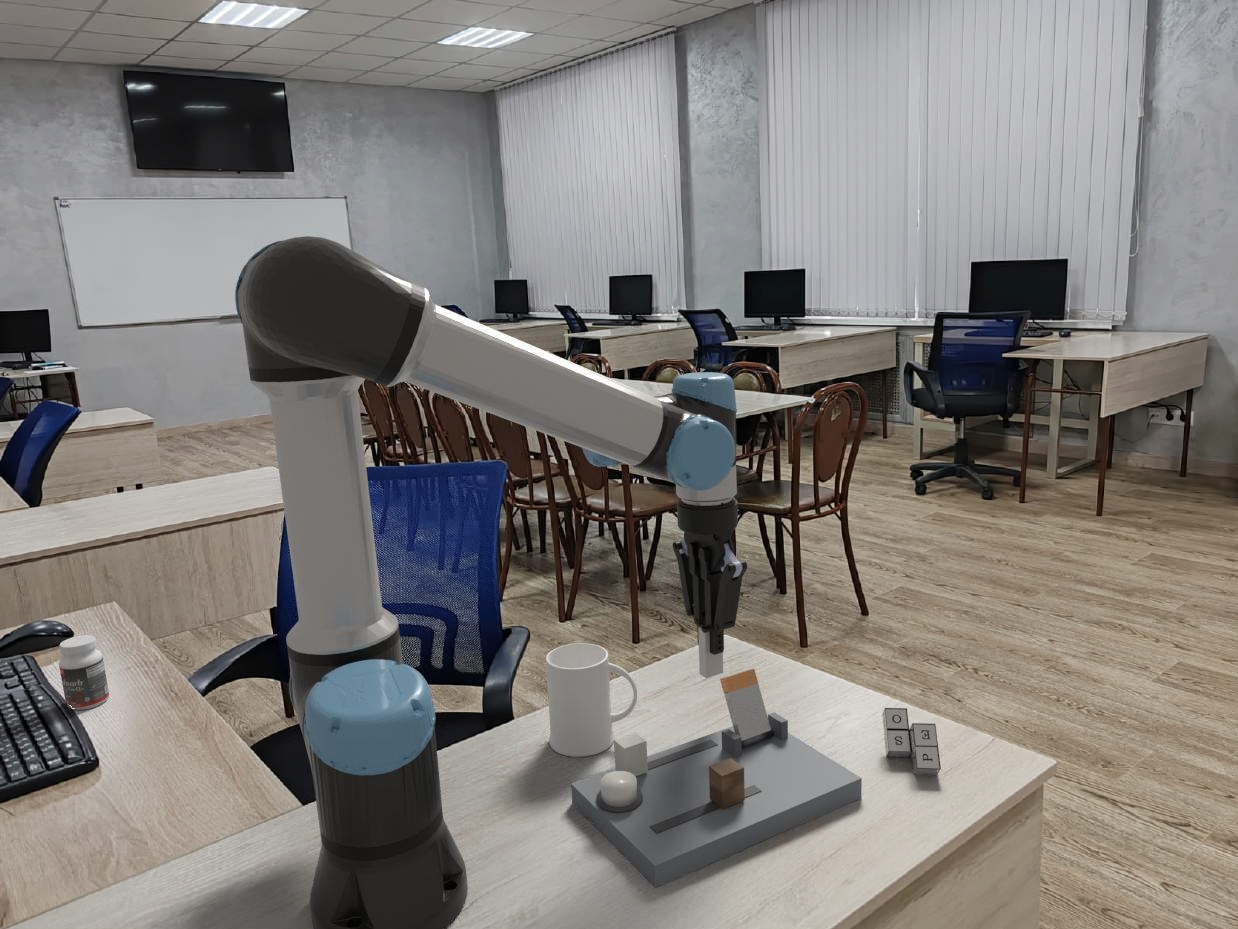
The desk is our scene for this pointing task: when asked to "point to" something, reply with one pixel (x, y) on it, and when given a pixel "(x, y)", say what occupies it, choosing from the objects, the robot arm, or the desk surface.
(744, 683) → the lever
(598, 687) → the mug
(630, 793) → the button
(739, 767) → the slider
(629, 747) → the slider
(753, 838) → the panel
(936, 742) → the building blocks
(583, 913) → the desk surface
